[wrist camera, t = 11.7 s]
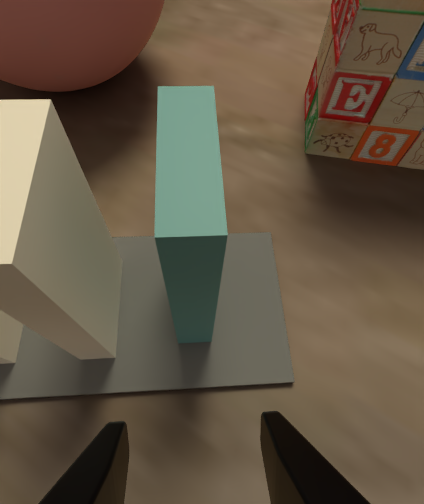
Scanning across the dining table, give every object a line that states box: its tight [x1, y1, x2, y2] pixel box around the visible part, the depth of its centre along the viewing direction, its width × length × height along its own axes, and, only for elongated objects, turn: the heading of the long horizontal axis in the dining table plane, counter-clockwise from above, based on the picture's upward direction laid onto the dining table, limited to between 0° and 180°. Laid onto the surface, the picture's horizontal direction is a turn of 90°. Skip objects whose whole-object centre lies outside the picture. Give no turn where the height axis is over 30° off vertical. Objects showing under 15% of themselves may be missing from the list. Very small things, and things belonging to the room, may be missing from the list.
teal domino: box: [155, 86, 228, 343], centre depth 13 cm, size 2×5×10 cm, turn 4°
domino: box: [0, 99, 122, 360], centre depth 13 cm, size 2×5×10 cm, turn 4°
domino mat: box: [0, 232, 295, 400], centre depth 17 cm, size 8×27×1 cm, turn 93°
